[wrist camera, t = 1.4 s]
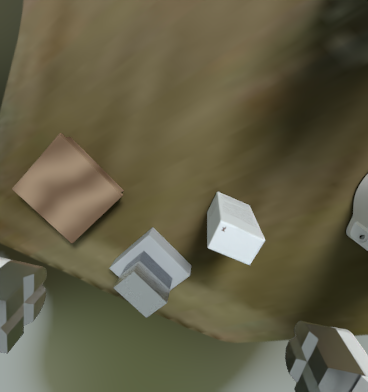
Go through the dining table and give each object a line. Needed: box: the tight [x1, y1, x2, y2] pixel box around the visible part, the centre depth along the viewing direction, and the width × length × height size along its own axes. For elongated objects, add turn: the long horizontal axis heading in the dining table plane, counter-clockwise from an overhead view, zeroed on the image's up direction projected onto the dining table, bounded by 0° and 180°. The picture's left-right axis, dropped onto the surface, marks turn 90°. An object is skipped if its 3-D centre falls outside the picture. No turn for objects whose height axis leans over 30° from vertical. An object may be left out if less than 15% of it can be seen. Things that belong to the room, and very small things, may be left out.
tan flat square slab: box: [13, 133, 124, 243], centre depth 42 cm, size 13×13×3 cm
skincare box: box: [207, 192, 265, 265], centre depth 36 cm, size 6×4×12 cm
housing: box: [114, 251, 173, 317], centre depth 41 cm, size 7×4×6 cm, turn 43°
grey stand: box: [110, 227, 191, 290], centre depth 45 cm, size 10×10×3 cm
